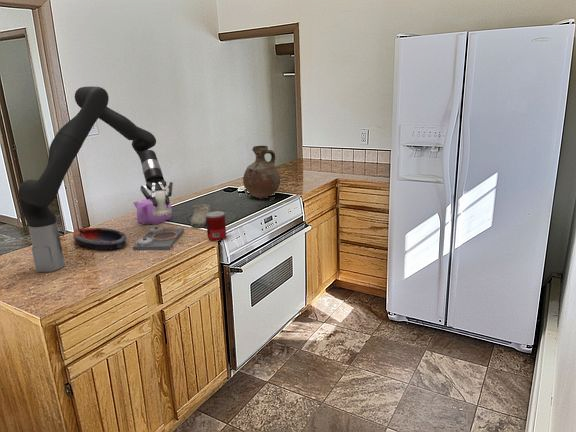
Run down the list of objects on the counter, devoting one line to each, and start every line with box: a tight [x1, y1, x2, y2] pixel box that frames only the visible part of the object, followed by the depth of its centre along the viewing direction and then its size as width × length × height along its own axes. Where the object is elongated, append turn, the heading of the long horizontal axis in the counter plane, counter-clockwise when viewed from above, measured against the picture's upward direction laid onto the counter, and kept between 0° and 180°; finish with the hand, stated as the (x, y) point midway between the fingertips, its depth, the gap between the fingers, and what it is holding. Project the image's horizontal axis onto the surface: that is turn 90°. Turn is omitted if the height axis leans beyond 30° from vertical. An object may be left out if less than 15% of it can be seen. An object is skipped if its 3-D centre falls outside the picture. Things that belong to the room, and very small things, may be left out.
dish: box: [73, 227, 127, 250], centre depth 187 cm, size 16×31×5 cm, turn 55°
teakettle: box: [133, 196, 173, 225], centre depth 217 cm, size 17×17×12 cm
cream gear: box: [152, 190, 173, 216], centre depth 184 cm, size 8×8×10 cm
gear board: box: [132, 225, 185, 251], centre depth 188 cm, size 23×15×4 cm, turn 178°
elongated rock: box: [189, 203, 213, 229], centre depth 220 cm, size 35×5×10 cm
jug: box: [242, 145, 281, 199], centre depth 253 cm, size 22×22×30 cm
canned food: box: [206, 210, 227, 241], centre depth 188 cm, size 8×8×11 cm
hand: (162, 205), depth 183 cm, fingers closed on cream gear, 4 cm apart
